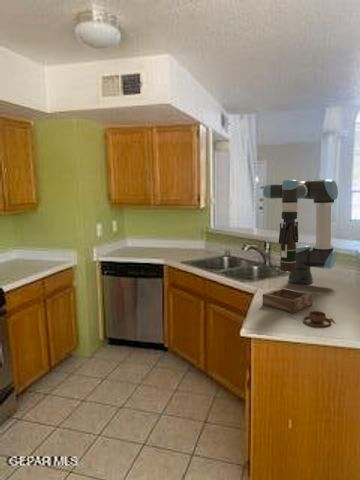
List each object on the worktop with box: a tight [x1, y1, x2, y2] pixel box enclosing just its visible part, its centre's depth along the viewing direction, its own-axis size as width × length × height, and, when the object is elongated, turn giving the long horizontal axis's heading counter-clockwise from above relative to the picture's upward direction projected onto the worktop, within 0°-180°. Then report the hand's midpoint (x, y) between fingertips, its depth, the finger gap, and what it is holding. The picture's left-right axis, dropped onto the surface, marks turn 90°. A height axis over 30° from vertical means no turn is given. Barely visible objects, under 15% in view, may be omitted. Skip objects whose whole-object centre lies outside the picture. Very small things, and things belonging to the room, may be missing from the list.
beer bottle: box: [279, 224, 297, 273], centre depth 191 cm, size 8×8×24 cm
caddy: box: [262, 287, 313, 314], centre depth 195 cm, size 18×18×6 cm
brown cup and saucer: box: [290, 302, 337, 328], centre depth 173 cm, size 18×20×6 cm
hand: (288, 256), depth 191 cm, fingers closed on beer bottle, 8 cm apart
